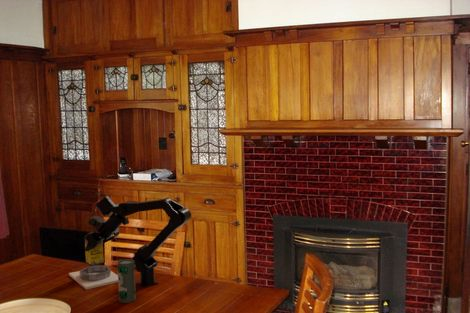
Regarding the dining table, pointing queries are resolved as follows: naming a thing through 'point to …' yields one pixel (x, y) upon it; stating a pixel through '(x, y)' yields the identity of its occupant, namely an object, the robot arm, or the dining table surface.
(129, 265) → the can
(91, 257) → the supplement box
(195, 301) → the dining table surface
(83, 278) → the metal duct collar
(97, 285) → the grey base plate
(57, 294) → the dining table surface
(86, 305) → the dining table surface
